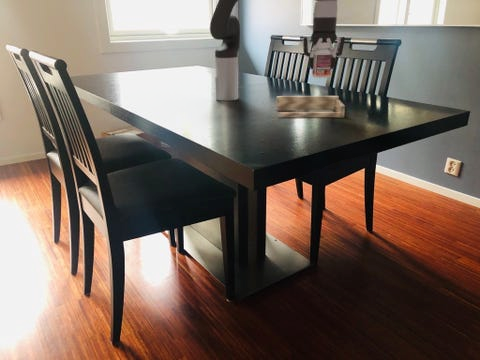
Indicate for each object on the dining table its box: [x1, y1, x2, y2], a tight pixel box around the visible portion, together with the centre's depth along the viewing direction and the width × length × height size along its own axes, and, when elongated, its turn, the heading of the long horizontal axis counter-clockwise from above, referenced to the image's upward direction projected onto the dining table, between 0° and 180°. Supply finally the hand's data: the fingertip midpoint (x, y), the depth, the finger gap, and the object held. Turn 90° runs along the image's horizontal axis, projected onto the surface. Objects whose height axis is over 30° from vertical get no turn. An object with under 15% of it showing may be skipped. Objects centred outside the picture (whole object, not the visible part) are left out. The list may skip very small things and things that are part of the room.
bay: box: [275, 95, 346, 118], centre depth 139 cm, size 23×13×5 cm, turn 88°
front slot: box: [307, 110, 334, 112], centre depth 140 cm, size 9×9×1 cm
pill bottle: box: [311, 43, 332, 79], centre depth 133 cm, size 6×6×11 cm
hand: (321, 68), depth 134 cm, fingers closed on pill bottle, 6 cm apart
